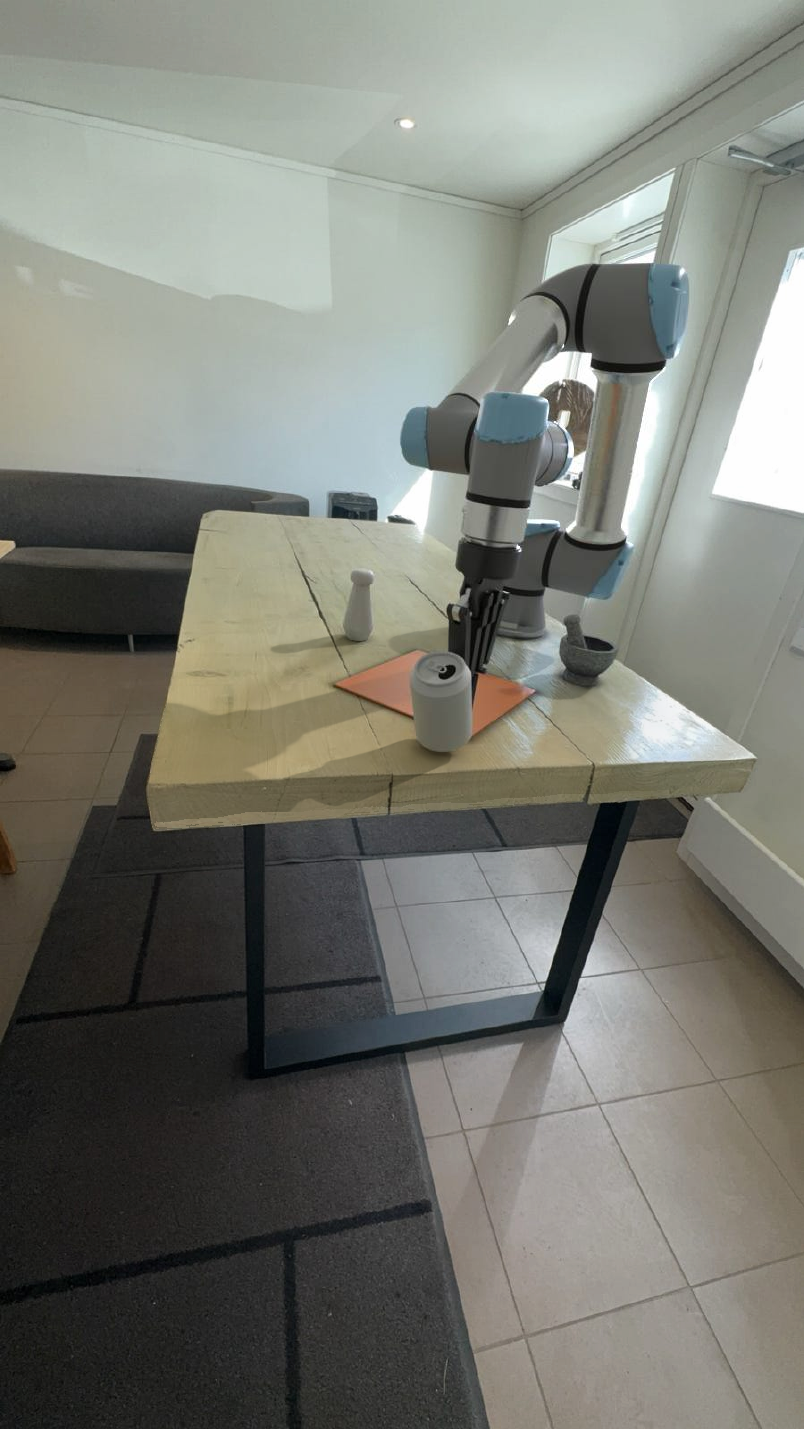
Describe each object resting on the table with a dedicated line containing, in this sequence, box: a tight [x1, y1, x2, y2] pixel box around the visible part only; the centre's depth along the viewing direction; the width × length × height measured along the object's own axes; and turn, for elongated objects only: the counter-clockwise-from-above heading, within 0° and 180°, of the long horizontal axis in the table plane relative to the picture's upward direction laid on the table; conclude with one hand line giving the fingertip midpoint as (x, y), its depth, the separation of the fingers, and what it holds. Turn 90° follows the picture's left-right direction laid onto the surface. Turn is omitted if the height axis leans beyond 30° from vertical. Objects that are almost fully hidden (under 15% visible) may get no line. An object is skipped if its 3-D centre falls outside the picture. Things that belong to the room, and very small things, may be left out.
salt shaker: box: [342, 567, 375, 642], centre depth 110 cm, size 6×6×13 cm
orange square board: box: [333, 649, 537, 738], centre depth 95 cm, size 24×24×1 cm
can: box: [409, 650, 472, 753], centre depth 74 cm, size 8×8×12 cm
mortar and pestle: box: [558, 613, 619, 687], centre depth 104 cm, size 11×9×12 cm
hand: (459, 716), depth 80 cm, fingers closed
